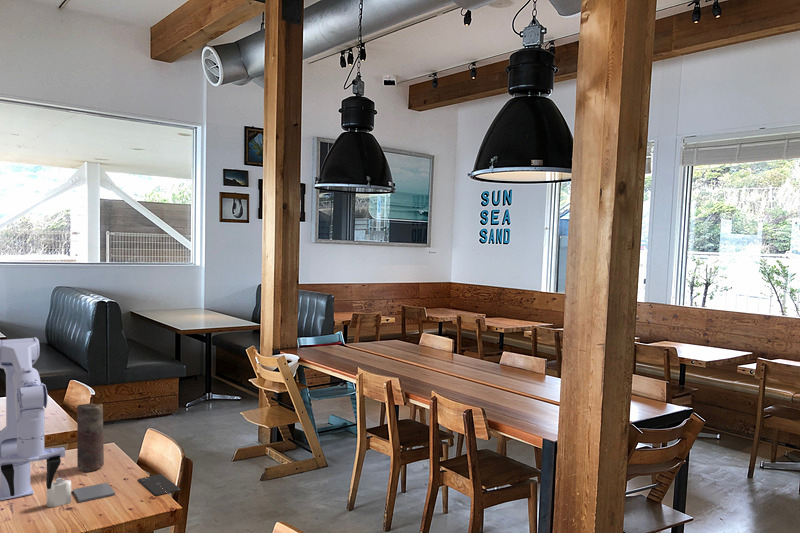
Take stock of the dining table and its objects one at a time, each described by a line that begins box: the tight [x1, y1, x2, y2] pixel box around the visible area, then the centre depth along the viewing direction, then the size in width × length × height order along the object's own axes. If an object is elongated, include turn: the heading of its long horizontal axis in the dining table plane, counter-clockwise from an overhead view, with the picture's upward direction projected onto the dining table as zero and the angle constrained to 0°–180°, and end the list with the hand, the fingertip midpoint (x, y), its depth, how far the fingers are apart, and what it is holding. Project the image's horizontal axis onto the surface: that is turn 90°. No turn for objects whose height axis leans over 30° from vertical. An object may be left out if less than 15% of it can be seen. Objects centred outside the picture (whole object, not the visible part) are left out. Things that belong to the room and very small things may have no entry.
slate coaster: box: [72, 482, 116, 503], centre depth 175 cm, size 9×9×1 cm
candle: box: [76, 403, 105, 473], centre depth 193 cm, size 8×7×20 cm
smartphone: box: [137, 473, 181, 497], centre depth 182 cm, size 7×1×15 cm
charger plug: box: [46, 477, 72, 508], centre depth 168 cm, size 3×6×7 cm, turn 128°
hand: (30, 491), depth 151 cm, fingers open, 7 cm apart
